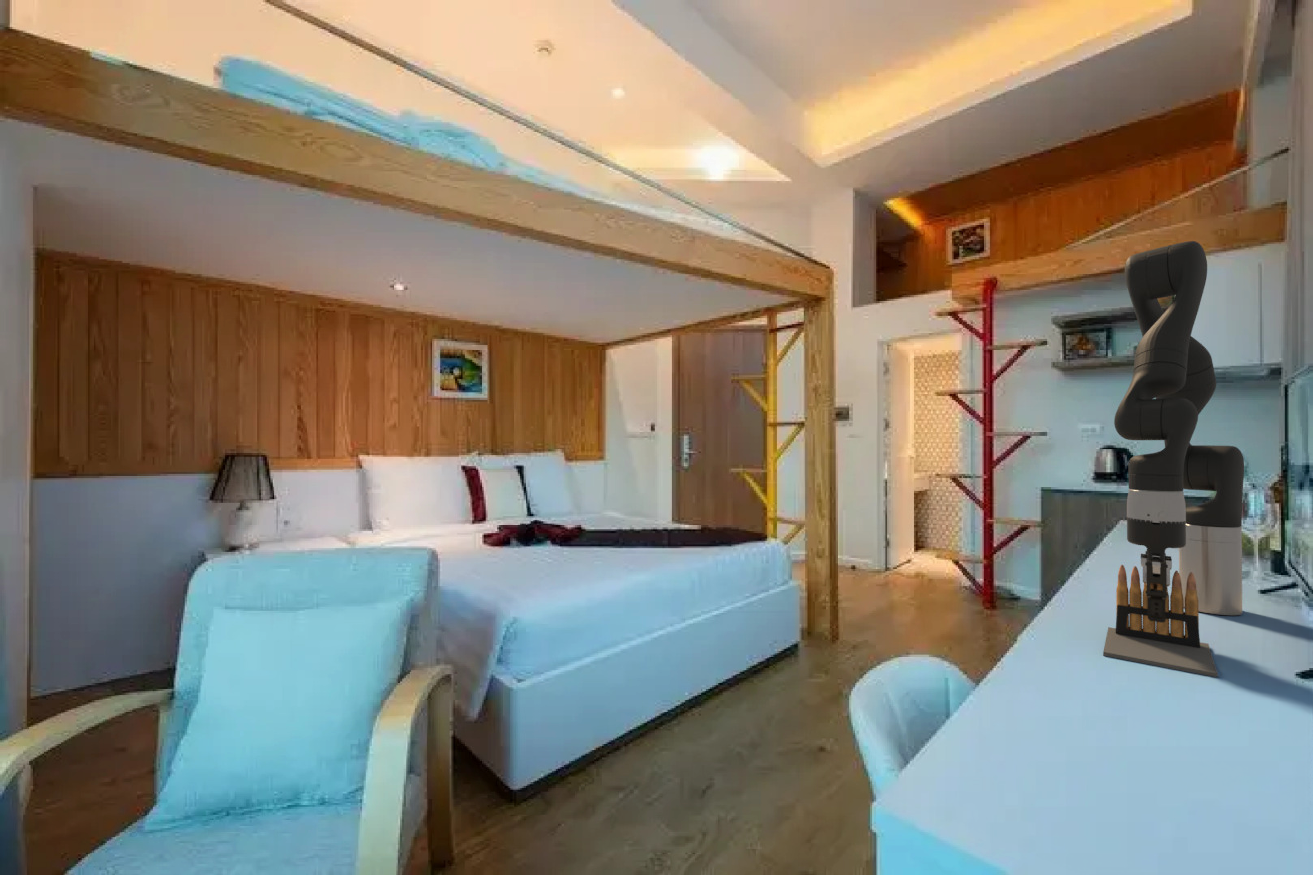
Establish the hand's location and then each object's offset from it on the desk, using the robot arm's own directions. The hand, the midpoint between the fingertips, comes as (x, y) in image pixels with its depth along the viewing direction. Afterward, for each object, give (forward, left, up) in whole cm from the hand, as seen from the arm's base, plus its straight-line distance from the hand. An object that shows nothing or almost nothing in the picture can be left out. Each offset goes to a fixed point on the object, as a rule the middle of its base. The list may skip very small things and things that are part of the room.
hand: (1156, 616), depth 97 cm
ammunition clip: (0, 0, -4) cm, 4 cm away
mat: (+5, 0, -5) cm, 7 cm away
